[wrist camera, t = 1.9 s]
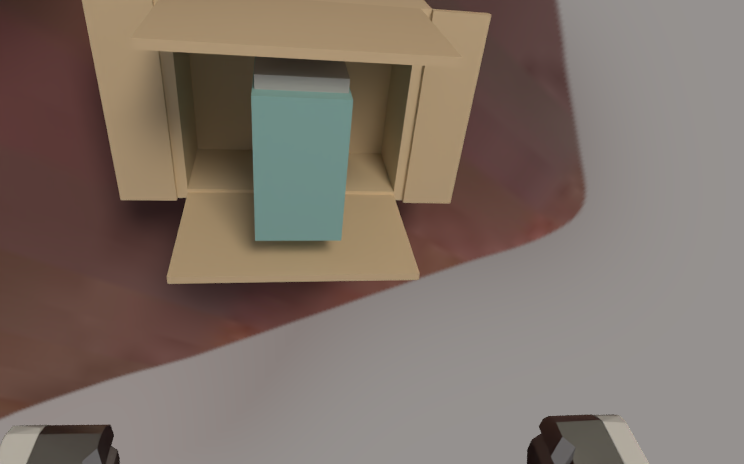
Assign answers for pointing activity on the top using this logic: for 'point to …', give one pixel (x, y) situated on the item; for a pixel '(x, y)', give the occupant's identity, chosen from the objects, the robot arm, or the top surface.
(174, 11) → the carton
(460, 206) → the top surface
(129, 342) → the top surface
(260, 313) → the top surface
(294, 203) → the teal box
